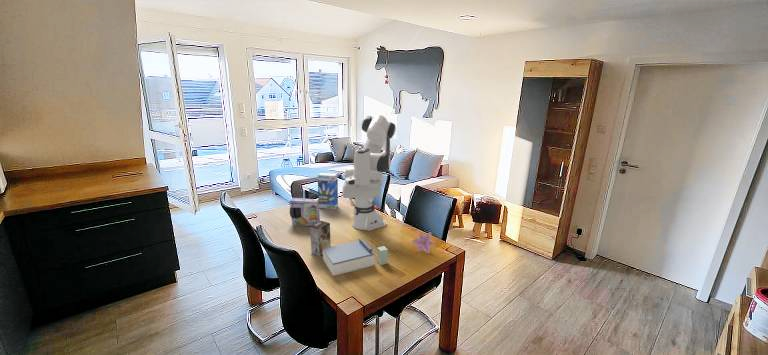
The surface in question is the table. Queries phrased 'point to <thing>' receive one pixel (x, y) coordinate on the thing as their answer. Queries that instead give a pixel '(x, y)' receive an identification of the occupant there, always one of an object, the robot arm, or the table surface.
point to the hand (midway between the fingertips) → (361, 205)
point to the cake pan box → (304, 211)
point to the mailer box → (349, 264)
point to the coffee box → (320, 237)
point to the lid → (348, 251)
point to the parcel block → (382, 255)
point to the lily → (423, 242)
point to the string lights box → (328, 190)
